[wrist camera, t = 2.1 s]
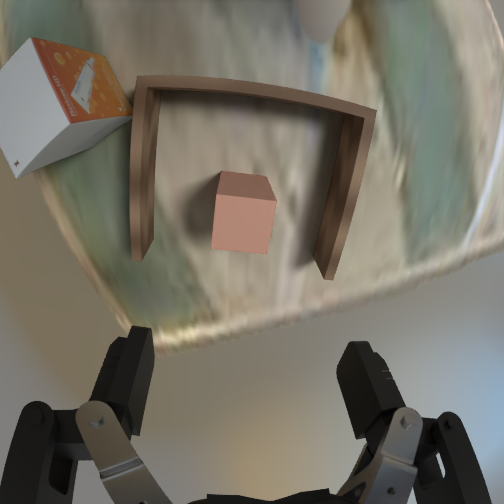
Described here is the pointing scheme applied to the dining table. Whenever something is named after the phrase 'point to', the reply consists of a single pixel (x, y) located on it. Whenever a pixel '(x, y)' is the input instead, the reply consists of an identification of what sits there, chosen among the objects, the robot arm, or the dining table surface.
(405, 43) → the dining table surface
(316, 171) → the dining table surface
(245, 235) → the terracotta block
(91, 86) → the small box
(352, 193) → the u-shaped bracket
